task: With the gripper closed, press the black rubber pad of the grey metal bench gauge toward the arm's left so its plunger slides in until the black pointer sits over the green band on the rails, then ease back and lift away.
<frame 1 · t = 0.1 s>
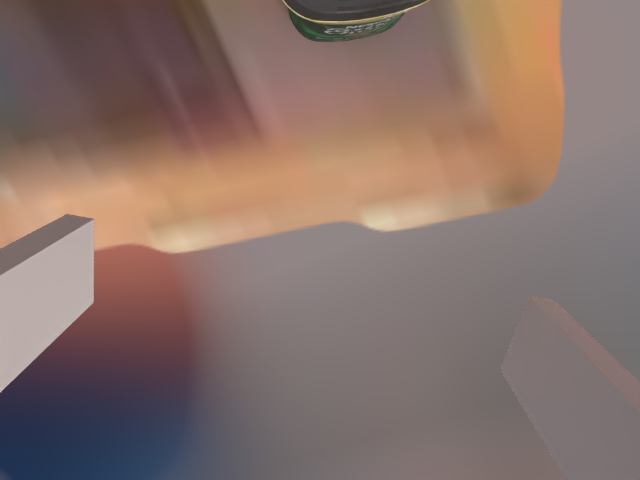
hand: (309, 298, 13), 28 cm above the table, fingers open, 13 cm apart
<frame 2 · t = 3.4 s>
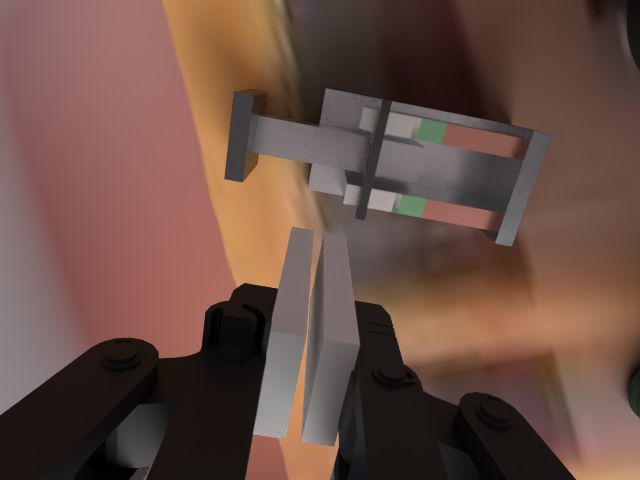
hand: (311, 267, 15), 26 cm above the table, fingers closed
gauge body: (401, 155, 40), on the table
plunger: (331, 148, 36), point 4 cm above the table, slide at 0.0 cm
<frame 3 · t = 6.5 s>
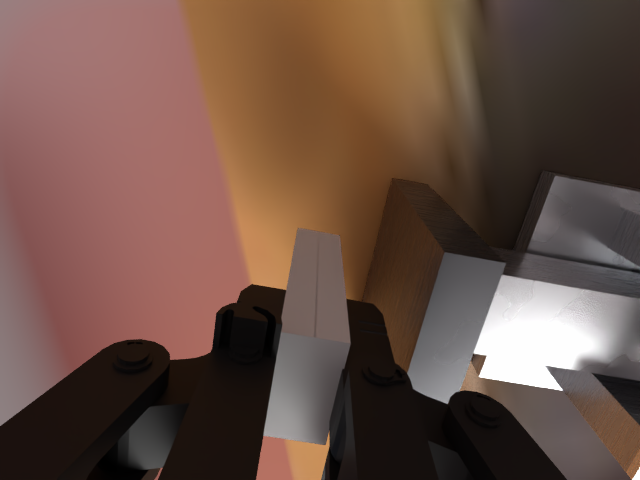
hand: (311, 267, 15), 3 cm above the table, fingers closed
plunger: (609, 336, 15), point 4 cm above the table, slide at 0.7 cm, touching gripper
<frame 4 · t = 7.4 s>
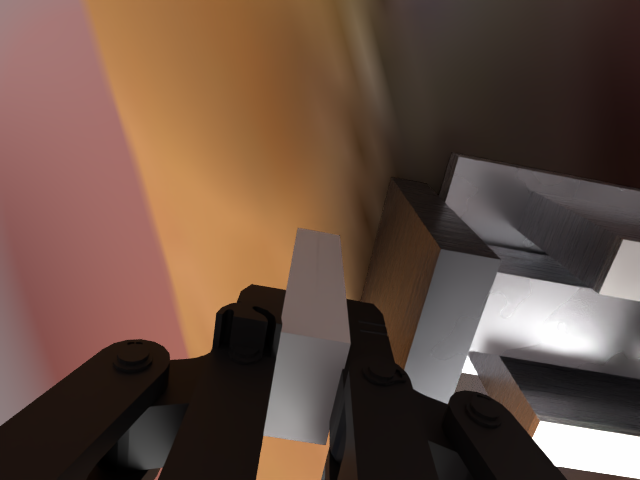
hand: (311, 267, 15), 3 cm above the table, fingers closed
gauge body: (601, 290, 19), on the table
plunger: (606, 334, 15), point 4 cm above the table, slide at 4.3 cm, touching gripper
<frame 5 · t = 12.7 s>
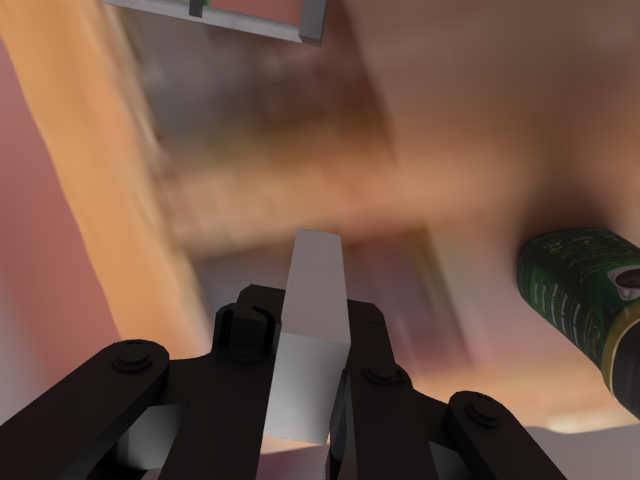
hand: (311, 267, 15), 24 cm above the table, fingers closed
coffee jar: (563, 264, 42), on the table
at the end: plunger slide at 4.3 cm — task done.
